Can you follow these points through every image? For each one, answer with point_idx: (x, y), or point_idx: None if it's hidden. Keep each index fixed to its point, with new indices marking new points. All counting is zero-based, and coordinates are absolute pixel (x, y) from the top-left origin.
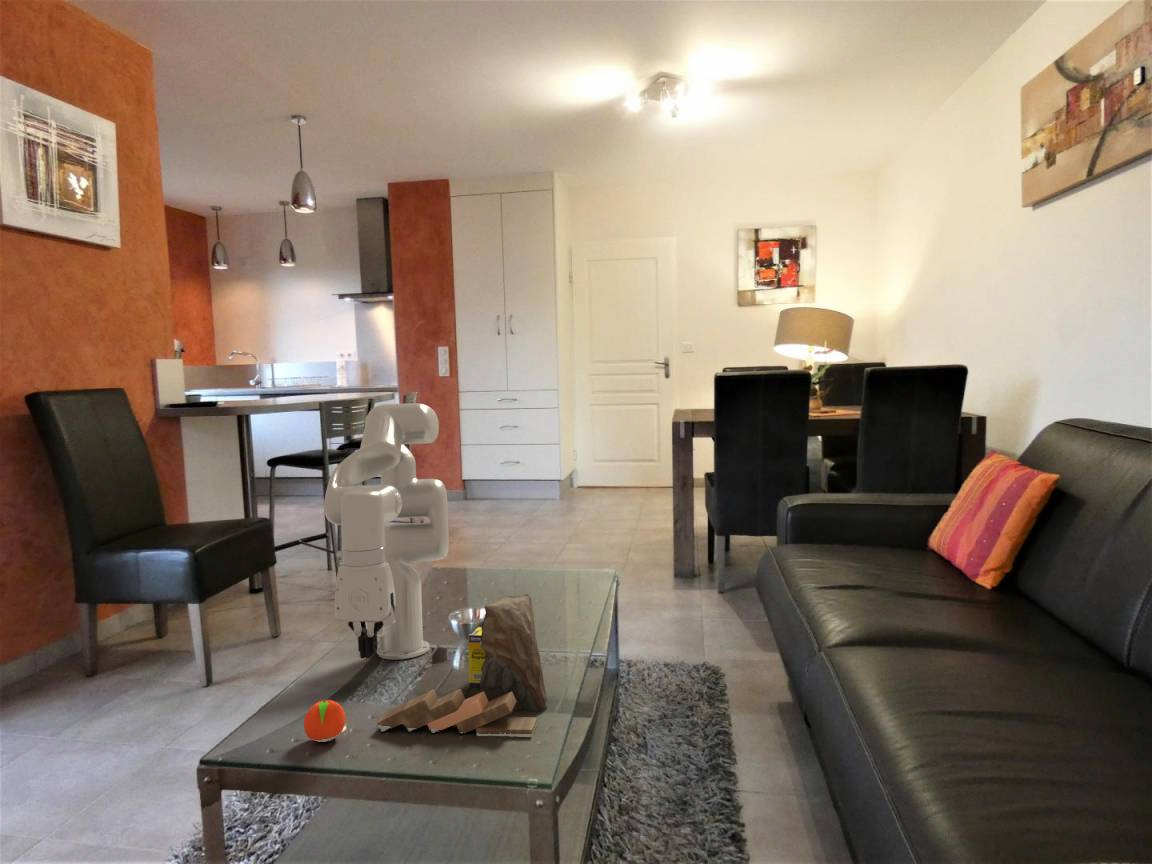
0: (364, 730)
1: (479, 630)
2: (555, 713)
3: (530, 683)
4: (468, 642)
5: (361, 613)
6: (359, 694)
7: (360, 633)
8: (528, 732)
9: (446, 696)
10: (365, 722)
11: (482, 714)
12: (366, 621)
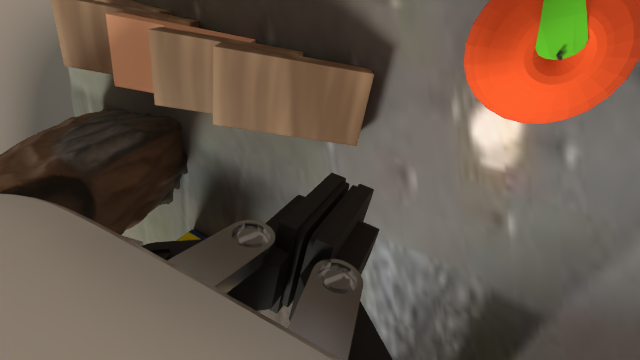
0: (417, 97)
1: None
2: (86, 90)
3: (68, 122)
4: None
5: (103, 348)
6: (452, 313)
7: (318, 269)
8: None
9: (191, 96)
10: (419, 147)
11: (120, 8)
12: (167, 262)
